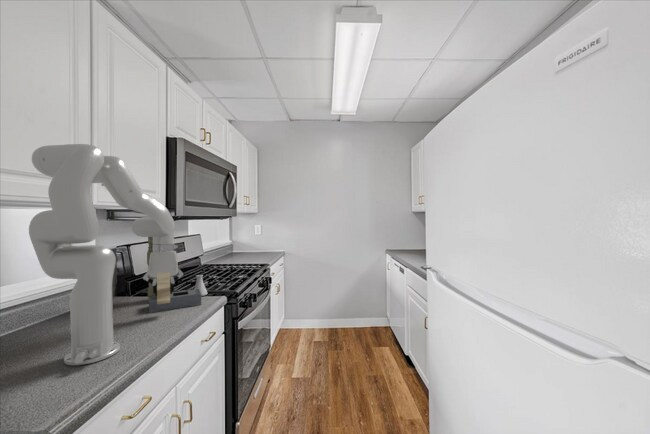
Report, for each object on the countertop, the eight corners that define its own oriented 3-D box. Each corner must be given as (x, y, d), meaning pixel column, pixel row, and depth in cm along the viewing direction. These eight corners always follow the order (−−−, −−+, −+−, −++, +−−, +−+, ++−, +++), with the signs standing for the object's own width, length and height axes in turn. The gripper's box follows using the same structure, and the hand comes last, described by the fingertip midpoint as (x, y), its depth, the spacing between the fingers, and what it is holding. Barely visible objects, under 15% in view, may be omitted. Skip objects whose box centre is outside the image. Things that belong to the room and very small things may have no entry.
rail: (201, 304, 129) (201, 293, 129) (149, 312, 120) (148, 300, 120) (199, 299, 138) (198, 288, 138) (150, 306, 128) (150, 295, 128)
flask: (210, 293, 149) (209, 274, 149) (202, 297, 142) (202, 276, 142) (197, 293, 149) (196, 274, 149) (188, 297, 142) (188, 277, 142)
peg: (170, 302, 115) (170, 272, 115) (157, 304, 112) (156, 273, 113) (170, 300, 119) (169, 270, 119) (157, 301, 116) (157, 272, 117)
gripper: (186, 246, 123) (186, 289, 123) (139, 249, 115) (139, 295, 115) (187, 248, 117) (187, 293, 116) (137, 250, 109) (137, 299, 108)
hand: (163, 293), depth 116 cm, fingers closed on peg, 4 cm apart
